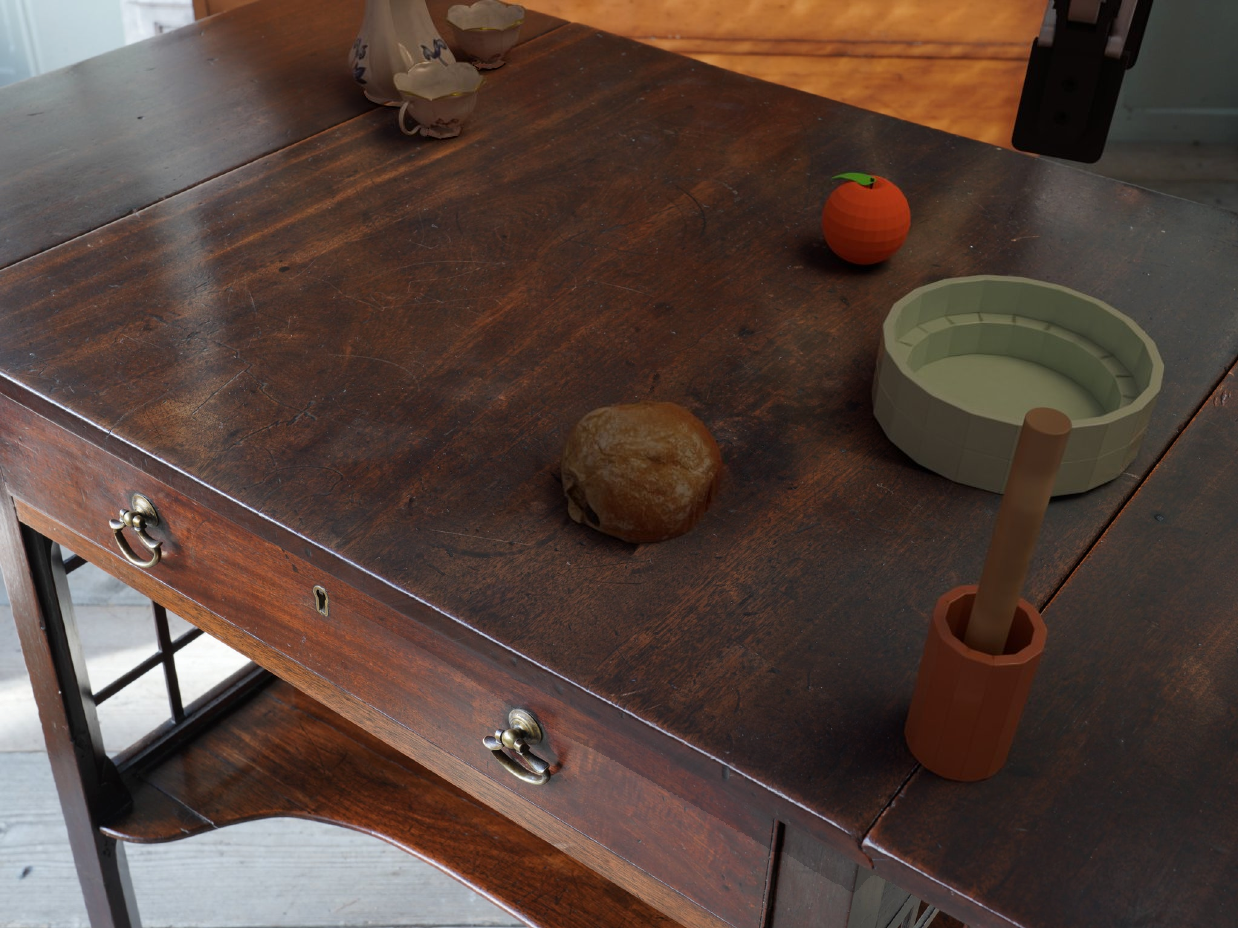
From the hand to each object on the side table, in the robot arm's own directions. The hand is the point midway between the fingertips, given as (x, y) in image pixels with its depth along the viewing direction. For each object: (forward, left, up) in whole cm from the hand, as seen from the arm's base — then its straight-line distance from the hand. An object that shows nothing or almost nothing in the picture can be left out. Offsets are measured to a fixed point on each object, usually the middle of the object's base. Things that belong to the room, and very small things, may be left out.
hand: (1076, 105), depth 48 cm
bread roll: (+20, -4, -30) cm, 36 cm away
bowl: (+1, -21, -30) cm, 37 cm away
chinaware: (+64, -52, -30) cm, 88 cm away
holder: (-2, +8, -30) cm, 31 cm away
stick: (-2, +8, -30) cm, 31 cm away
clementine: (+16, -38, -30) cm, 51 cm away
